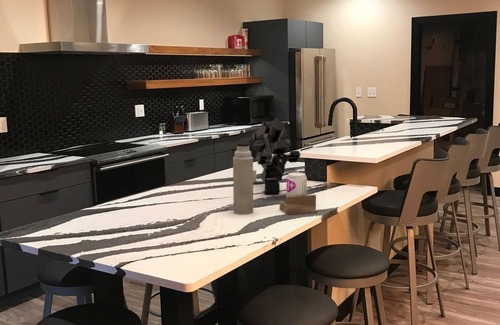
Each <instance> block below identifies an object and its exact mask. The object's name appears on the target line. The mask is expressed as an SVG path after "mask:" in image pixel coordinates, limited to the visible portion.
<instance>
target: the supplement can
mask: <svg viewBox="0 0 500 325" xmlns="http://www.w3.org/2000/svg"><path fill="white" fill-rule="evenodd" d="M285 182H286V183H285V184H286V185H285V186H286V187H285V188H286V190H285V192H286V194H285V195H286V196H285V198H286V197H291V196H303V195H308V193H307V192H308V191H307V190H308V188H307V187H308V186H307V185H308V178H307V175H306V173H305V172H298V171H297V172H288V173H287V176H286V180H285Z"/></svg>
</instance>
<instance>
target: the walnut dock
mask: <svg viewBox="0 0 500 325" xmlns="http://www.w3.org/2000/svg"><path fill="white" fill-rule="evenodd" d="M279 210H280V211H281V212H283V213H284V214H285V215H286V216H287V215H289V216H290V215H299V214H300V213H301V214H310V213H309V212H312V213H316V212H317V195H316V194H307V195H303V196H291V197H286V196H285V202H284V201H283V200H280V201H279Z"/></svg>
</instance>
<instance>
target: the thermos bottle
mask: <svg viewBox="0 0 500 325" xmlns="http://www.w3.org/2000/svg"><path fill="white" fill-rule="evenodd" d="M253 170H254V158H253V157H251V151H249V144H248V142H238V143H236V150H235V151H234V156H233V158H232V178H233V179H232V181H233V184H232V185H233V187H232V188H233V190H232V191H233V194H232V196H233V213H234V214H238V215H249V214H252V213H254V182H253Z"/></svg>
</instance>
